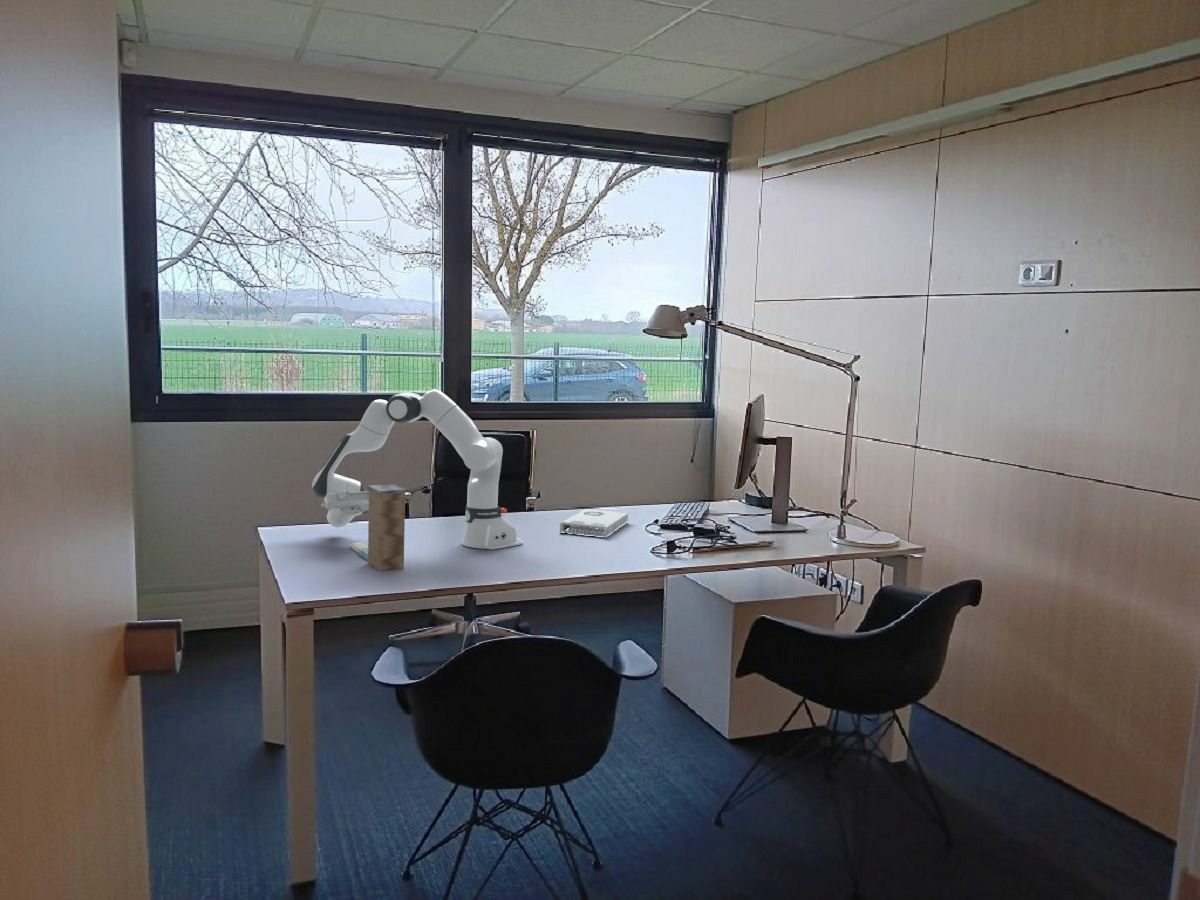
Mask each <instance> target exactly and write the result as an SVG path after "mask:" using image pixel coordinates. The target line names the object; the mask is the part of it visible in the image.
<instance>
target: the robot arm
mask: <svg viewBox="0 0 1200 900" xmlns="http://www.w3.org/2000/svg"><path fill="white" fill-rule="evenodd" d="M423 418H425V419H427V420H428V421H429V422H431V423H432V424H433V425H434V427H435V428H436V429H437V430H438V431H439V432H440V433H441V434H442V435H443V436H444V437H445V438H446V439H447V440H448V441H449V443H451V446H453V448H454V449H455V450H456V452H457V454H458V455H459V456H460V458H461V459H462V460H463V463H464V465H465V466H466V467H467V468H468V469H470V474H469V479H468V482H467V492H466V493H467V497H466V498H467V499H466V502H467V503H466V506H465V516H464V517H465V526H464V527H465V529H464V534H463V536H462V537H463V538H462V541H461V545H462V546H464V547H467V548H472V549H486V550H499V549H503V548H509V547H514V546H515V547H516V546H521V545H523V543H524V541H523V540H522V539H520V538H519V537H517V535H518V534H517V529H516V527H515V525H513V524H512V523H511V522H509V521H508V520H507V519H506V518H505V517H503V515H505V514H507V508H504V507H501V506H498V503H499V502H498V501H499V499H498V497H499V482H500V475H501V471H502V470H501V469H502V460H503V452H504V449H503V445H502V443H501V442H500V441H498V440H497V439H496V438H493V437H488V436H487V437H484V436H483V435H482V433H481V432H480V431H479V430H478V428H477V426H476V425H475V423H474V421H473V419H471V418H470V417H469V416H468V414H467V413H466V412H465V411H464V410H463V409H462V408H460V406H459V405H458V404H456V402H455V401H454V400H453V399H451V397H449V396H448V395H447V394H445V393H444V392H442V391H440V389H435V388H434V389H430V390H428V391H426V392H425V393H424V394H423V395H422V394H421V393H419V392H417V391H412V392H411V391H409V392H408V391H405V392H400V393H397V394H394V395H392V396H391V397H390V398H389V399H388V401H387V400H385V399H375V400H373V401H372V402H370V404H369V406H368V407H367V409H366V410H365V412H364V414H363V416H362V418H361V420H360V422H359V425H358V426H357V427H356V429H355V430H353V431H352V432H350V433H349V432H348V433H346V434H344V436H343V437H342V438H341V439H340V441H339V442H338V443H337V445H336V446H335V448H334V450H332V452H331V454H330V456H329V457H328V458H327V460H326V462H325V463H324V464H323V466H322V467H321V469H320V470H319V471H318V472H317V474H316V475H315V476H314V478H313V480H312V483H311V490H312V492H313V494H314V495H315V496H316V497H318V498H322V499H324V500H323V501H322V503H321V504H320V506H321V508H322V507H323V508H325V509H327V510H328V511H327V515H326V520H327V522H328V523H329V524H330V525H331V526H332V527H335V528H343V527H345V526H347V525H348V524H349V523H350V522H351V521H353V519H354V518H356V517H357V516H360V515H364V514H369V490H365V488H364V485H363V484H362V482H361V481H359V480H357V479H354V478H351V477H346V476H344V475H340V474H337V473H335V471H336V470H337V468H338V466H339V465H340V464H341V462H342V460H343V459H344V457H345V456H346V455H348V454H349V455H350V454H351V453H367V452H368V453H370V452H374V451H378V450H380V449H381V448H382V447H383V446H384V445H385V443H386V441H387V439H388V437H389V435H390V433H391V430H392V428H393V426H394V424H395V423H396V424H397V423H398V424H406V423H414V422H416V421H419V420H421V419H423ZM502 514H503V515H502Z"/></svg>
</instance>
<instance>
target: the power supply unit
mask: <svg viewBox="0 0 1200 900" xmlns="http://www.w3.org/2000/svg"><path fill="white" fill-rule="evenodd" d="M626 521H628V522H629V513H628V512H618V511H610V510H609V511H608V510H599V509H589V508H585V509H583V510H582V511H579V512H578V513H576V514H574V515H572V516H570V517H568V518H567V519H565V520H563V521H561V522H559V534H560V533H561V532H562V531H564V532H565V533H567V532H568V533H572V534H584V535H594V536H604V537H606V536H607V535H608V534H610V533H611V532H613V531H614V530H615V529H617V528H618V527H619V526H621V525H622V524H624V523H625V522H626ZM603 524H605V525H603ZM572 525H573V526H572ZM598 525H601V526H598ZM590 527H591V528H590ZM567 528H569V529H568V531H565V530H566V529H567ZM596 528H598V529H596Z"/></svg>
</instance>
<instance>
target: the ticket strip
mask: <svg viewBox="0 0 1200 900" xmlns="http://www.w3.org/2000/svg"><path fill="white" fill-rule="evenodd" d="M350 548H351V549H352V550H354V551H355V552H357V553H359V554H360V556H361V557H362V558H364V559H366V560H367V561H368V545H367V544H366V543H364V542H362V541H361V542H353V543H350Z"/></svg>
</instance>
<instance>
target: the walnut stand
mask: <svg viewBox="0 0 1200 900" xmlns="http://www.w3.org/2000/svg"><path fill="white" fill-rule="evenodd" d="M367 490H368V491H369V512H368V523H367V525H368V528H367V529H368V535H367V537H368V538H367V540H368V541H367V544H368V545H367V546H368V560H367V564H368V565H370V566H371V567H373V568H374V569H376V570H378V571H379V572H385V571H392V570H400V569H402V570H403V569H404V567H405V526H406V525H405V524H406V523H405V519H406V516H405V514H406V512H405V511H406V509H405V507H406V493H407V491H408V490H407V489H406V488H405V487H401V486H400V485H397V484H395V483H392V484H391V483H390V484H389V483H388V484H372V485H367Z"/></svg>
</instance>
